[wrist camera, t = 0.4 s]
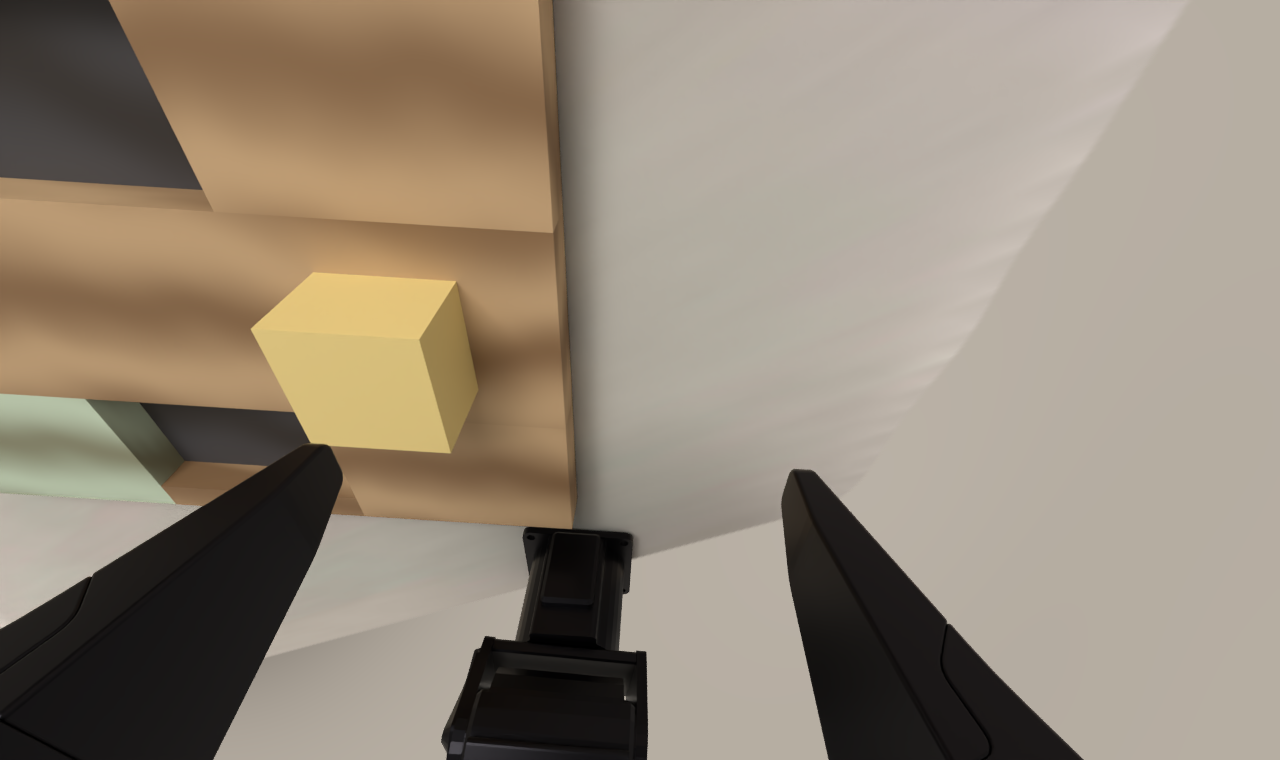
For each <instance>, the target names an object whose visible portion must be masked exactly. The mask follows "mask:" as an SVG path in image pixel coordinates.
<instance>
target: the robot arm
mask: <svg viewBox="0 0 1280 760" xmlns="http://www.w3.org/2000/svg"><path fill="white" fill-rule="evenodd" d="M342 482H343V472H342V470H341V467H340V465H339V463H338V461H337V459H336V457H335V455H334V453H333V450H332V449H331V447H330V446H328V445H327V444H316V443H307V444H303V445H301V446H300V447H298V448H296V449H295V450H293V451H291V452H290V453H288V454H287V455H285V456H283V457H282V458H280V459H278V460H277V461H275V462H274V463H272V464H270V465H269V466H267V467H266V468H264V469H262V470H261V471H259V472H257V473H256V474H254V475H253V476H251V477H249V478H248V479H246V480H244V481H243V482H241V483H240V484H238V485H236V486H235V487H233V488H231V489H230V490H228V491H227V492H225V493H223V494H222V495H220V496H218V497H217V498H215V499H214V500H212V501H210V502H209V503H207V504H206V505H204V506H202V507H201V508H199V509H197V510H196V511H194V512H193V513H191V514H189V515H188V516H186V517H184V518H183V519H181V520H180V521H178V522H176V523H175V524H173V525H171V526H170V527H168V528H167V529H165V530H163V531H162V532H160V533H158V534H157V535H155V536H154V537H152V538H150V539H149V540H147V541H145V542H144V543H142V544H141V545H139V546H137V547H136V548H134V549H132V550H131V551H129V552H128V553H126V554H124V555H123V556H121V557H119V558H118V559H116V560H115V561H113V562H111V563H110V564H108V565H106V566H105V567H103V568H102V569H100V570H98V571H97V572H95V573H94V574H93V576H92V577H87V578H85V579H84V580H82V581H80V582H79V583H77V584H76V585H74V586H72V587H71V588H69V589H67V590H66V591H64V592H63V593H61V594H59V595H58V596H56V597H54V598H53V599H51V600H49V601H48V602H46V603H44V604H43V605H41V606H39V607H38V608H36V609H34V610H33V611H31V612H29V613H28V614H26V615H24V616H23V617H21V618H19V619H17V620H16V621H14V622H12V623H10V624H9V625H7V626H5V627H3V628H2V629H0V760H213V759H214V757H215V755H216V753H217V751H218V749H219V747H220V745H221V743H222V741H223V739H224V737H225V735H226V733H227V731H228V729H229V727H230V725H231V723H232V721H233V719H234V717H235V715H236V713H237V711H238V709H239V707H240V705H241V703H242V701H243V699H244V697H245V695H246V693H247V691H248V689H249V687H250V685H251V683H252V681H253V679H254V677H255V675H256V673H257V671H258V669H259V667H260V665H261V663H262V661H263V659H264V657H265V655H266V653H267V651H268V649H269V647H270V645H271V643H272V641H273V639H274V637H275V635H276V633H277V631H278V629H279V627H280V625H281V623H282V621H283V619H284V617H285V615H286V613H287V611H288V609H289V607H290V605H291V603H292V601H293V599H294V597H295V595H296V593H297V591H298V589H299V587H300V585H301V583H302V581H303V579H304V577H305V575H306V573H307V571H308V569H309V567H310V565H311V563H312V561H313V559H314V557H315V554H316V552H317V550H318V547H319V545H320V542H321V540H322V537H323V534H324V532H325V529H326V526H327V523H328V521H329V518H330V515H331V513H332V510H333V507H334V505H335V502H336V499H337V497H338V494H339V491H340V489H341V486H342ZM781 507H782V518H783V527H784V537H785V546H786V556H787V566H788V575H789V582H790V587H791V592H792V597H793V601H794V606H795V610H796V615H797V619H798V624H799V628H800V633H801V637H802V641H803V646H804V651H805V655H806V660H807V664H808V669H809V673H810V678H811V682H812V687H813V691H814V696H815V700H816V705H817V709H818V714H819V718H820V723H821V727H822V732H823V736H824V741H825V745H826V750H827V754H828V759H829V760H1083V759H1082V758H1081V757H1080V756H1079V755H1078V754H1077V753H1076V752H1075V751H1074V750H1073V749H1072V748H1071V747H1070V746H1069V745H1068V744H1067V743H1066V742H1065V741H1064V740H1063V739H1062V738H1061V737H1060V736H1059V735H1058V734H1057V733H1056V732H1055V731H1053V730H1052V729H1051V728H1050V727H1049V726H1048V725H1047V724H1046V723H1045V722H1044V721H1043V720H1042V719H1041V718H1040V717H1039V716H1038V715H1037V714H1036V713H1035V712H1034V711H1033V710H1032V709H1031V708H1030V707H1029V706H1028V705H1027V704H1026V703H1025V702H1024V701H1023V700H1022V699H1021V698H1020V697H1019V696H1018V695H1017V694H1016V693H1015V692H1014V691H1013V690H1011V688H1010V687H1009V686H1007V684H1006V683H1005V682H1004V681H1003V680H1002V679H1001V678H999V676H998V675H997V674H995V672H994V671H993V670H992V669H991V668H990V667H989V666H988V665H987V664H986V662H985V661H984V660H983V659H982V658H981V657H980V656H979V655H978V654H977V653H976V652H975V651H974V650H973V649H972V647H971V646H970V645H969V644H968V643H967V642H966V641H965V640H964V639H963V637H962V636H961V635H960V634H959V633H958V632H957V631H956V630H955V628H954V627H953V626H952V625H951V624H947V620H946V619H945V618H944V616H943V615H942V614H941V613H940V612H939V611H938V610H937V608H936V607H935V606H934V605H933V604H932V603H931V602H930V601H929V600H928V598H927V597H926V596H925V595H924V594H923V593H922V592H921V591H920V589H919V588H918V587H917V586H916V585H915V584H914V583H913V582H912V580H911V579H910V578H908V576H907V575H906V574H905V573H904V571H903V570H902V569H901V568H900V567H899V566H898V565H897V564H896V563H895V561H894V560H893V559H892V558H891V557H890V556H889V555H888V554H887V552H886V551H885V550H884V549H883V548H882V547H881V546H880V544H879V543H878V542H877V541H876V540H875V539H874V538H873V537H872V536H871V534H870V533H869V532H868V531H867V530H866V529H865V528H864V526H863V525H862V524H861V523H860V522H859V521H858V520H857V519H856V517H855V516H854V515H853V514H852V513H851V512H850V511H849V510H848V509H847V507H846V506H845V505H844V504H843V503H842V502H841V501H840V500H839V498H838V497H837V496H836V495H835V494H834V493H833V492H832V491H831V489H830V488H829V487H828V486H827V485H826V484H825V483H824V482H823V480H822V479H821V478H820V477H819V476H818V475H817V474H816V473H815V472H814V471H812V470H804V469H793V470H792V471H791V472H790V474H789V476H788V479H787V483H786V486H785V489H784V492H783V495H782V502H781ZM523 542H524V548H525V554H526V559H527V565H528V571H529V580H528V585H527V590H526V594H525V599H524V603H523V608H522V612H521V617H520V621H519V626H518V630H517V635H516V640H515V641H511V640H501V639H496V638H495V637H489V636H485V638H484V640H483V643H482V646H481V648H479V649H476V650H475V651H474V654H473V658H472V662H471V665H470V669H469V672H468V676H467V679H466V682H465V684H464V687H463V689H462V692H461V694H460V696H459V698H458V700H457V702H456V705H455V707H454V709H453V711H452V713H451V715H450V717H449V720H448V722H447V724H446V726H445V728H444V731H443V734H442V739H441V743H442V745H443V746H444V748H445V750H446V752H447V759H446V760H647V747H648V709H647V661H646V652H645V651H636V652H625V651H619V639H620V623H621V610H622V595H623V594H627V593H628V592H629V587H630V573H631V558H632V544H633V537H632V535H630V534H628V533H620V532H604V531H588V530H573V529H557V528H541V527H527V528H525V529H524V533H523ZM624 696H626V700H624Z"/></svg>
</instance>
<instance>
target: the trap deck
mask: <svg viewBox="0 0 1280 760" xmlns="http://www.w3.org/2000/svg"><path fill="white" fill-rule="evenodd" d="M313 272H316V273H332V274H348V275H364V276H380V277H396V278H412V279H428V280H444V281H456V282H457V287H458V292H459V297H460V302H461V307H462V311H463V316H464V321H465V326H466V331H467V336H468V341H469V346H470V351H471V356H472V360H473V365H474V370H475V375H476V380H477V385H478V392H477V394H476V396H475V399H474V401H473V403H472V406H471V408H470V410H469V413H468V415H467V417H466V420H465V422H464V424H463V427H462V429H461V431H460V433H459V436H458V438H457V440H456V443H455V445H454V447H453V450H452V452H451V453H435V452H420V451H404V450H388V449H372V448H356V447H340V446H330V447H331V449H332V450H333V453H334V455H335V457H336V459H337V461H338V463H339V465H340V467H341V470H342V472H343V482H342V486H341V489H340V491H339V494H338V497H337V499H336V502H335V505H334V507H333V510H332V513H331V514H341V515H356V516H372V517H388V518H404V519H420V520H435V521H451V522H467V523H483V524H499V525H515V526H530V527H546V528H562V529H572V527H573V521H574V515H575V509H576V503H577V484H576V464H575V444H574V424H573V403H572V383H571V363H570V343H569V323H568V303H567V283H566V263H565V243H564V223H563V203H562V183H561V163H560V143H559V122H558V102H557V82H556V62H555V42H554V22H553V2H552V0H0V493H8V494H24V495H40V496H56V497H72V498H88V499H103V500H119V501H135V502H151V503H167V504H182V505H198V506H204V505H206V504H207V503H209V502H210V501H212V500H214V499H215V498H217V497H218V496H220V495H222V494H223V493H225V492H227V491H228V490H230V489H231V488H233V487H235V486H236V485H238V484H240V483H241V482H243V481H244V480H246V479H248V478H249V477H251V476H253V475H254V474H256V473H257V472H259V471H261V470H262V469H264V468H266V467H267V466H269V465H270V464H272V463H274V462H275V461H277V460H278V459H280V458H282V457H283V456H285V455H287V454H288V453H290V452H291V451H293V450H295V449H296V448H298V447H300V446H301V445H303V444H307V443H311V442H310V441H309V439H308V437H307V435H306V433H305V431H304V429H303V427H302V425H301V424H300V422H299V420H298V418H297V416H296V414H295V412H294V410H293V408H292V406H291V405H290V403H289V401H288V399H287V397H286V395H285V393H284V391H283V389H282V388H281V386H280V384H279V382H278V380H277V378H276V376H275V374H274V372H273V371H272V369H271V367H270V365H269V363H268V361H267V359H266V357H265V355H264V354H263V352H262V350H261V348H260V346H259V344H258V342H257V340H256V338H255V336H254V335H253V333H252V331H251V328H252V327H253V326H254V325H255V324H257V323H258V322H259V321H260V320H261V319H262V318H263V317H264V316H265V315H266V314H268V313H269V312H270V311H271V310H272V309H273V308H274V307H275V306H276V305H278V304H279V303H280V302H281V301H282V300H283V299H284V298H285V297H286V296H287V295H289V294H290V293H291V292H292V291H293V290H294V289H295V288H296V287H297V286H299V285H300V284H301V283H302V282H303V281H304V280H305V279H306V278H307V277H308V276H310V275H311V274H312V273H313Z"/></svg>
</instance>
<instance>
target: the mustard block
mask: <svg viewBox="0 0 1280 760" xmlns="http://www.w3.org/2000/svg"><path fill="white" fill-rule="evenodd" d="M251 331H252V333H253V335H254V336H255V338H256V340H257V342H258V344H259V346H260V348H261V350H262V352H263V354H264V355H265V357H266V359H267V361H268V363H269V365H270V367H271V369H272V371H273V372H274V374H275V376H276V378H277V380H278V382H279V384H280V386H281V388H282V389H283V391H284V393H285V395H286V397H287V399H288V401H289V403H290V405H291V406H292V408H293V410H294V412H295V414H296V416H297V418H298V420H299V422H300V424H301V425H302V427H303V429H304V431H305V433H306V435H307V437H308V439H309V441H310V442H311V443H316V444H327V445H328V446H340V447H356V448H372V449H388V450H404V451H420V452H435V453H451V452H452V450H453V447H454V445H455V443H456V440H457V438H458V436H459V433H460V431H461V429H462V427H463V424H464V422H465V420H466V417H467V415H468V413H469V410H470V408H471V406H472V403H473V401H474V399H475V396H476V394H477V392H478V385H477V380H476V375H475V370H474V365H473V360H472V356H471V351H470V346H469V341H468V336H467V331H466V326H465V321H464V316H463V311H462V307H461V302H460V297H459V292H458V287H457V282H456V281H444V280H428V279H412V278H396V277H380V276H364V275H348V274H332V273H316V272H313V273H312V274H311V275H310V276H308V277H307V278H306V279H305V280H304V281H303V282H302V283H301V284H300V285H299V286H297V287H296V288H295V289H294V290H293V291H292V292H291V293H290V294H289V295H287V296H286V297H285V298H284V299H283V300H282V301H281V302H280V303H279V304H278V305H276V306H275V307H274V308H273V309H272V310H271V311H270V312H269V313H268V314H266V315H265V316H264V317H263V318H262V319H261V320H260V321H259V322H258V323H257V324H255V325H254V326H253V327H252V328H251Z"/></svg>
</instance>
